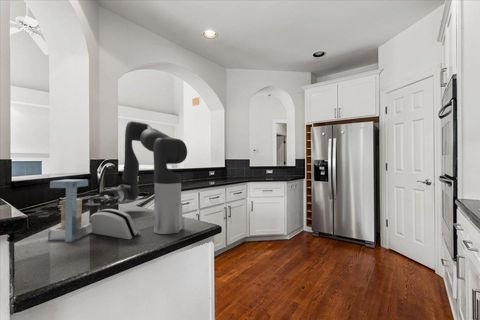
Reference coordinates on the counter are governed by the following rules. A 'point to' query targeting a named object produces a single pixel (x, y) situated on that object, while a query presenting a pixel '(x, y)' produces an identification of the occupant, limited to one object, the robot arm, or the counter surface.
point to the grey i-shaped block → (69, 213)
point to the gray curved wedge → (113, 224)
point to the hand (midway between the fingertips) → (89, 203)
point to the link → (78, 213)
